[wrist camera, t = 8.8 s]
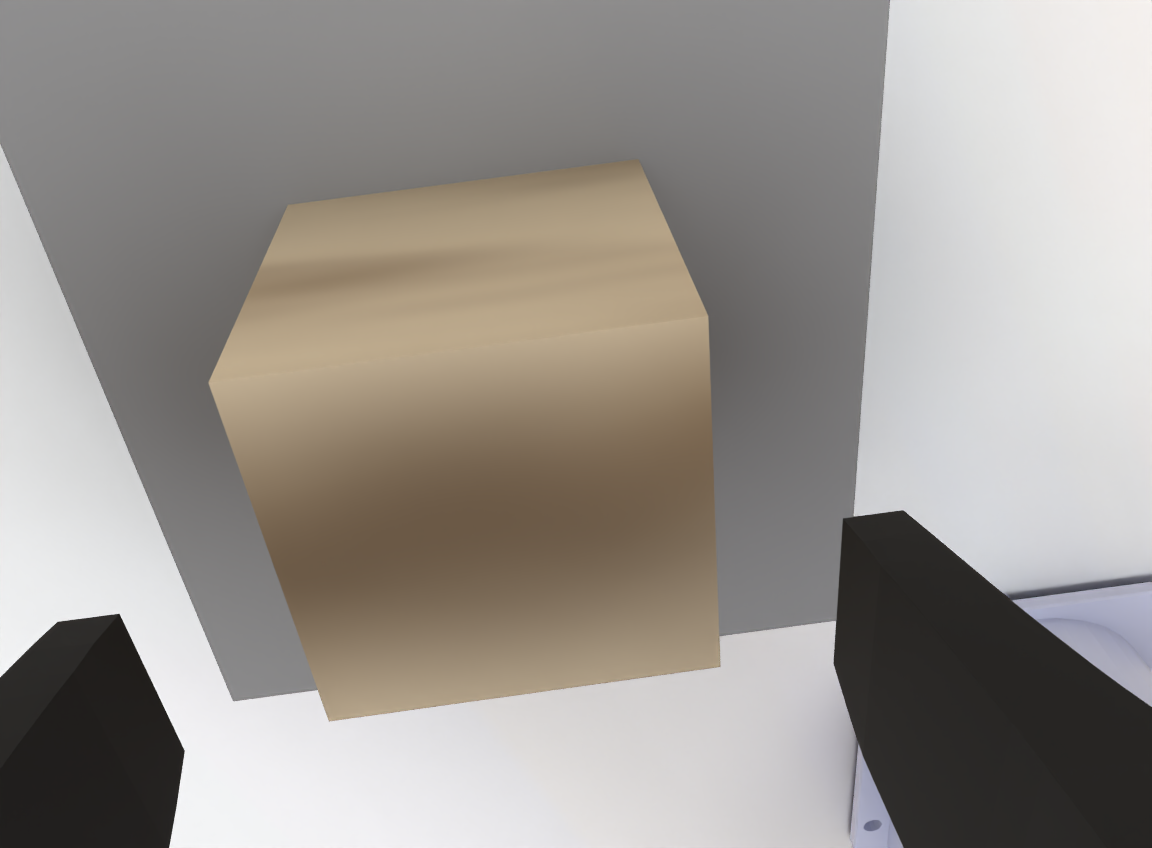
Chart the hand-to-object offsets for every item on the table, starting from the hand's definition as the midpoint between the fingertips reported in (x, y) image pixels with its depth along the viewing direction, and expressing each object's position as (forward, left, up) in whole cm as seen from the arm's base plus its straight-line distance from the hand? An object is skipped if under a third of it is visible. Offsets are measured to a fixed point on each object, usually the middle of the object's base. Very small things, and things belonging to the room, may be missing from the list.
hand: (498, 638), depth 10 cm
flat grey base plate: (0, 0, -10) cm, 10 cm away
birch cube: (0, 0, -6) cm, 6 cm away
